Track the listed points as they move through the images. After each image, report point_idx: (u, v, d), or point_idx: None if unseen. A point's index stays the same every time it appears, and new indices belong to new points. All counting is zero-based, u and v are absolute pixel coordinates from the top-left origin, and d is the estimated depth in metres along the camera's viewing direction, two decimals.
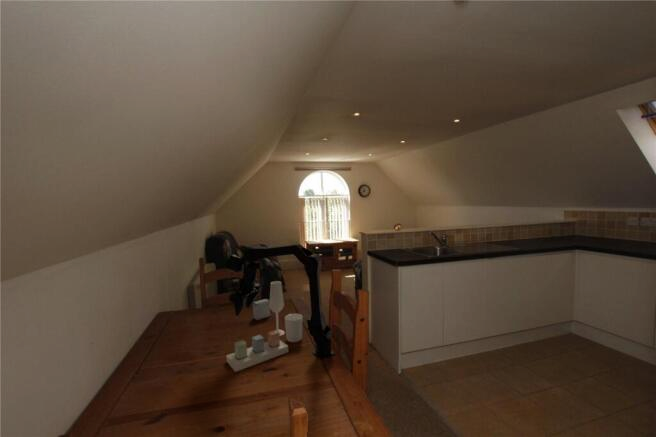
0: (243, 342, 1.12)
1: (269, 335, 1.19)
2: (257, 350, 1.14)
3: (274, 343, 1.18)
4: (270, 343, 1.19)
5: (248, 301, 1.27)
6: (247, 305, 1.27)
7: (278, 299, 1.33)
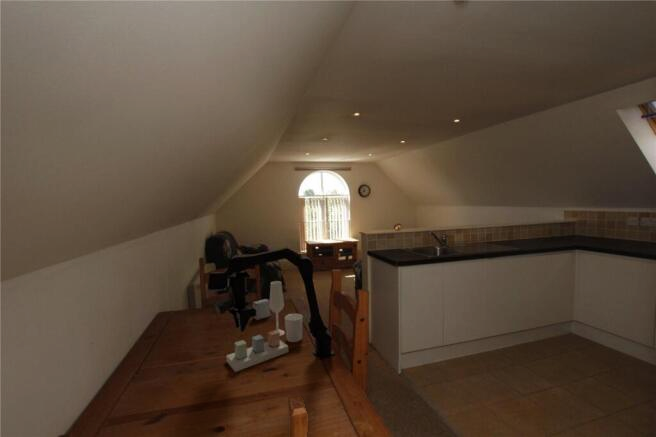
0: (243, 342, 1.12)
1: (269, 335, 1.19)
2: (257, 350, 1.14)
3: (274, 343, 1.18)
4: (270, 343, 1.19)
5: (237, 320, 1.13)
6: (237, 325, 1.13)
7: (278, 299, 1.33)
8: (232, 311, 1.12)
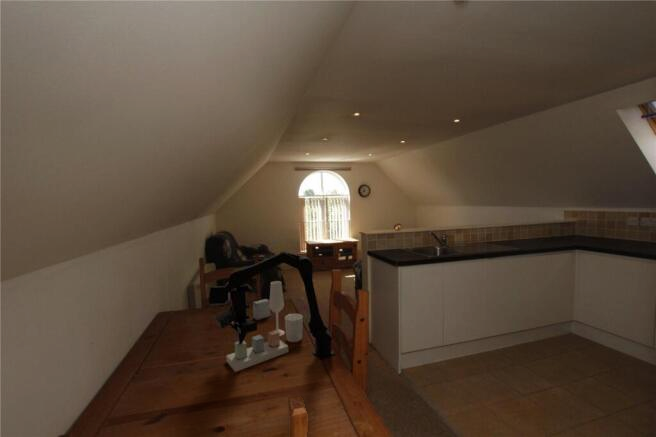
0: (243, 342, 1.12)
1: (269, 335, 1.19)
2: (257, 350, 1.14)
3: (274, 343, 1.18)
4: (270, 343, 1.19)
5: None
6: None
7: (278, 299, 1.33)
8: (235, 326, 1.11)
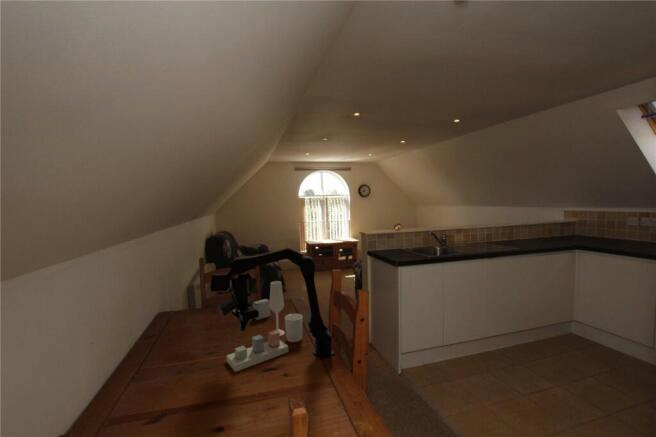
0: (243, 348, 1.12)
1: (269, 335, 1.19)
2: (257, 350, 1.14)
3: (274, 343, 1.18)
4: (270, 343, 1.19)
5: None
6: None
7: (278, 299, 1.33)
8: (236, 314, 1.11)
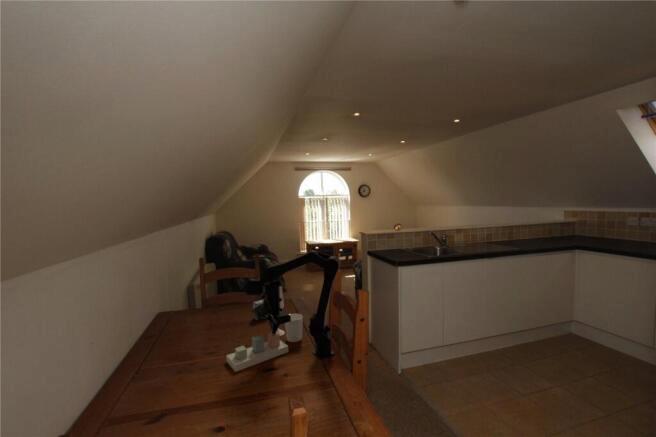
0: (243, 348, 1.12)
1: (269, 336, 1.19)
2: (257, 350, 1.14)
3: (274, 344, 1.18)
4: (270, 344, 1.19)
5: None
6: None
7: None
8: (269, 318, 1.19)
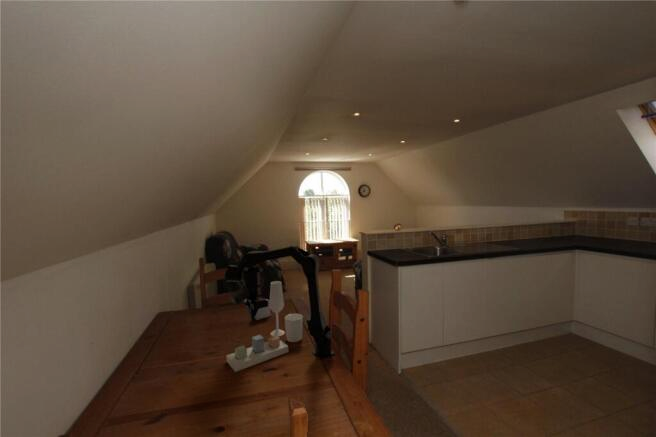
0: (243, 348, 1.12)
1: (269, 340, 1.19)
2: (257, 350, 1.14)
3: None
4: None
5: None
6: None
7: (278, 299, 1.33)
8: (247, 304, 1.21)
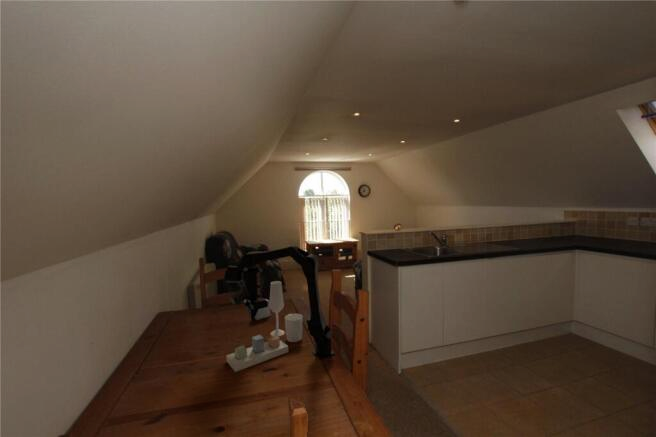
0: (243, 348, 1.12)
1: (269, 340, 1.19)
2: (257, 350, 1.14)
3: None
4: None
5: None
6: None
7: (278, 299, 1.33)
8: (247, 304, 1.21)
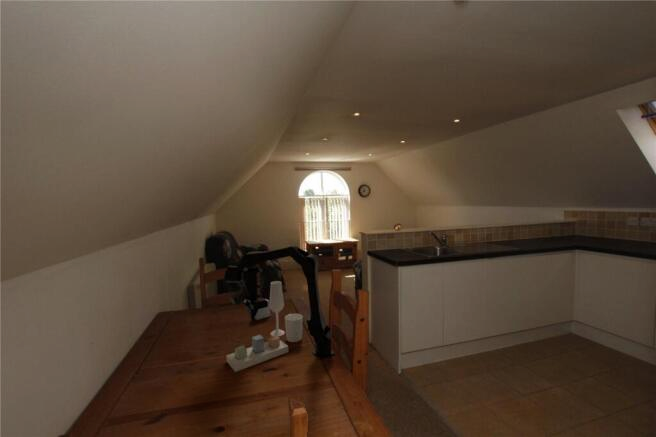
0: (243, 348, 1.12)
1: (269, 340, 1.19)
2: (257, 350, 1.14)
3: None
4: None
5: None
6: None
7: (278, 299, 1.33)
8: (247, 304, 1.21)
